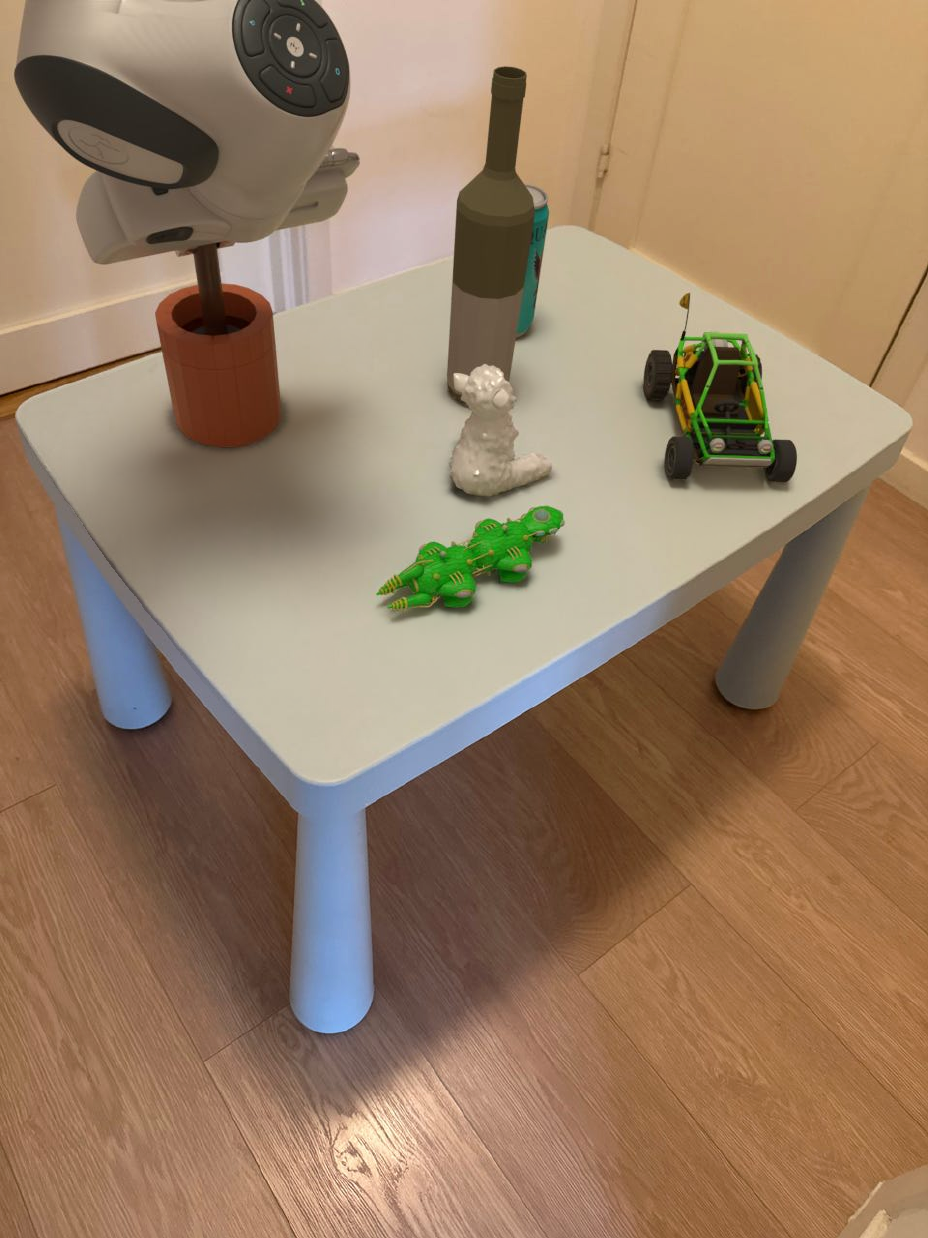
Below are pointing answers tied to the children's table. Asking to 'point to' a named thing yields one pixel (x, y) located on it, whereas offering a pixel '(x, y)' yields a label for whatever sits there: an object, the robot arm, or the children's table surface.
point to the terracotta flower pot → (221, 368)
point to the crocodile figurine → (474, 559)
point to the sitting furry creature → (490, 438)
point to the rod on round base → (211, 292)
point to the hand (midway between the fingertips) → (201, 242)
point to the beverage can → (534, 258)
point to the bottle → (491, 243)
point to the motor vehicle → (717, 406)
